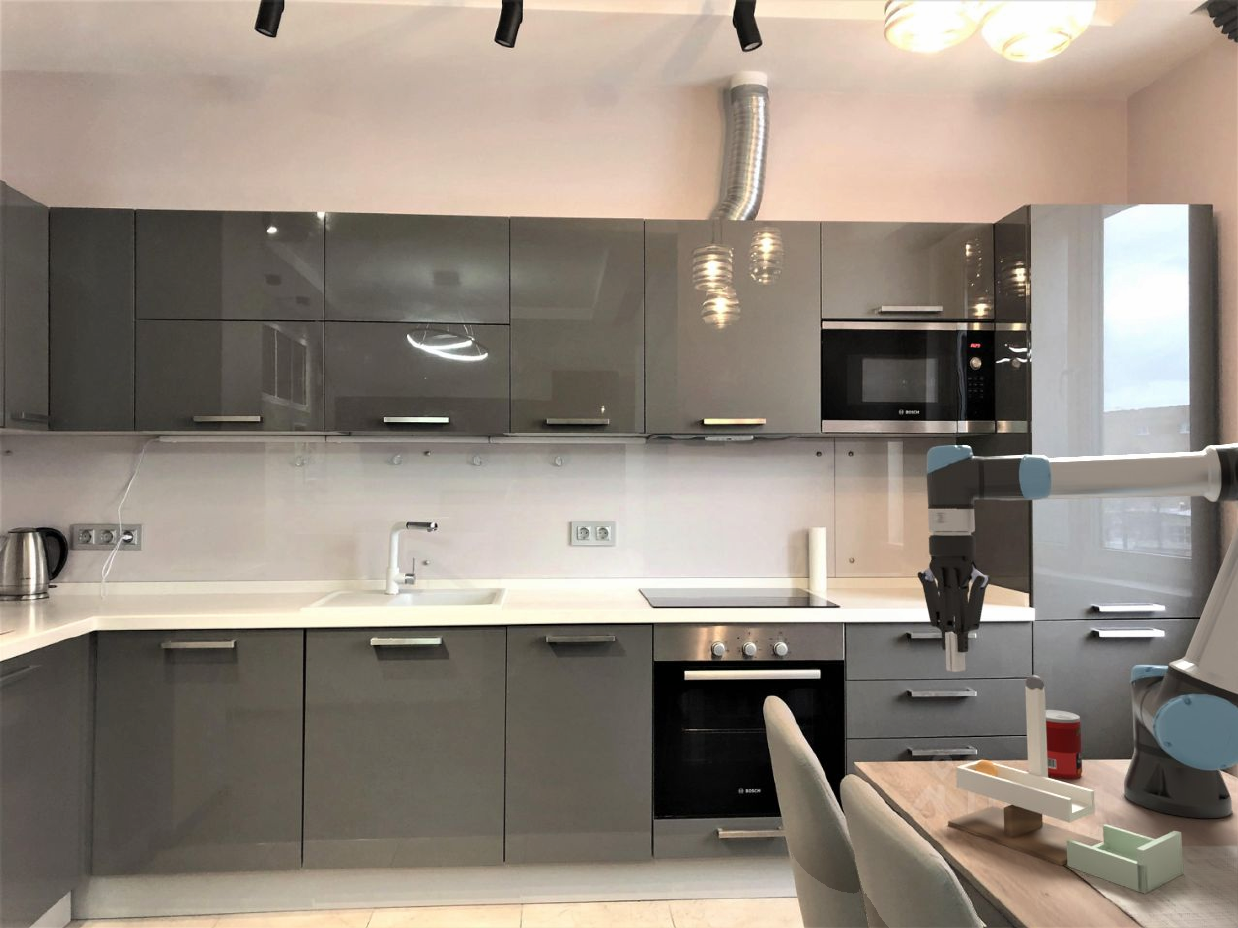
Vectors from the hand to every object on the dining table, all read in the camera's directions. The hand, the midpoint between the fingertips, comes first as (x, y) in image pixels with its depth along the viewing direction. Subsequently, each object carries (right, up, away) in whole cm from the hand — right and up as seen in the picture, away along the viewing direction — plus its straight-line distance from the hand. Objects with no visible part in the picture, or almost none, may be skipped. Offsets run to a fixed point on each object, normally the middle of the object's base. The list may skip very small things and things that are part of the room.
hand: (955, 670), depth 140 cm
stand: (+4, -21, -16) cm, 27 cm away
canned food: (+25, -23, +14) cm, 37 cm away
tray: (+12, -21, -28) cm, 37 cm away
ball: (+1, -14, -10) cm, 17 cm away
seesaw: (+5, -16, -15) cm, 22 cm away
